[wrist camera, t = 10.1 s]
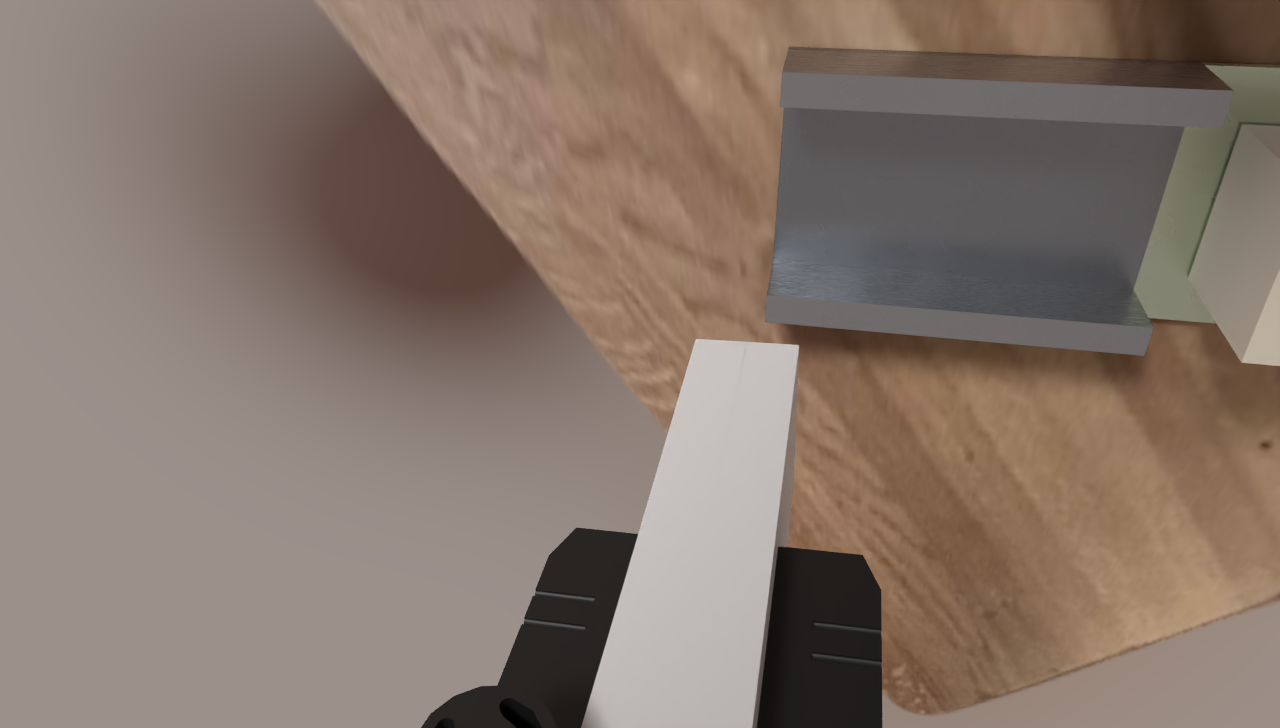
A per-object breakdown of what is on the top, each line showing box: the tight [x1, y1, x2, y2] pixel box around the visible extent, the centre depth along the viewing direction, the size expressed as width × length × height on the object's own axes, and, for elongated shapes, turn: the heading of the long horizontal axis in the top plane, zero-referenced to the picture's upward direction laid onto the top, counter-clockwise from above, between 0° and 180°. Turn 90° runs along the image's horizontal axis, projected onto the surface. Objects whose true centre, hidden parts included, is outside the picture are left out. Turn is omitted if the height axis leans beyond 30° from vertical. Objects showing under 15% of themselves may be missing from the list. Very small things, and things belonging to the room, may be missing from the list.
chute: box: [765, 47, 1280, 356], centre depth 33 cm, size 10×24×3 cm, turn 91°
